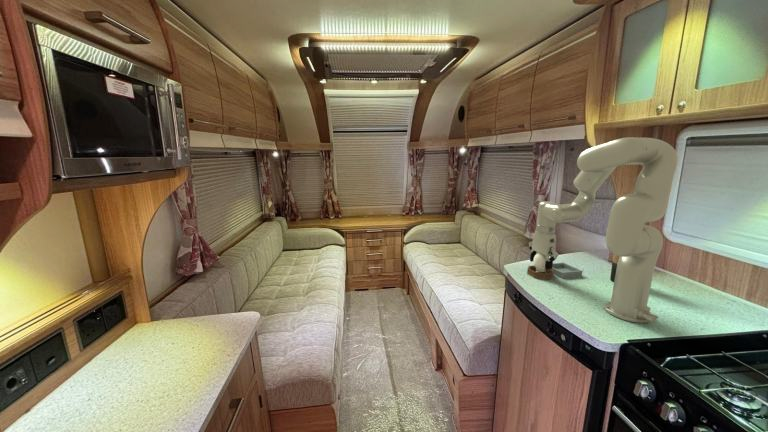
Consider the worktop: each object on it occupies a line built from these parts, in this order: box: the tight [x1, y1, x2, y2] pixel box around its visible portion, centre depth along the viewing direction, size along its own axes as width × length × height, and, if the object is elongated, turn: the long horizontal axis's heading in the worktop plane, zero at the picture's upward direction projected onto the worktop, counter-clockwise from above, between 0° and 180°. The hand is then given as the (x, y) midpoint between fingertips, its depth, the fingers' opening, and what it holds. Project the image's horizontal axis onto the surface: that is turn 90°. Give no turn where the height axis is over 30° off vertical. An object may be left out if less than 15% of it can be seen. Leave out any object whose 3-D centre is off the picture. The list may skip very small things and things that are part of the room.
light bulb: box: [532, 252, 547, 274], centre depth 135 cm, size 7×7×11 cm
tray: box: [552, 262, 583, 279], centre depth 139 cm, size 11×11×3 cm
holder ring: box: [526, 265, 554, 280], centre depth 136 cm, size 10×10×2 cm
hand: (540, 265), depth 136 cm, fingers open, 9 cm apart
